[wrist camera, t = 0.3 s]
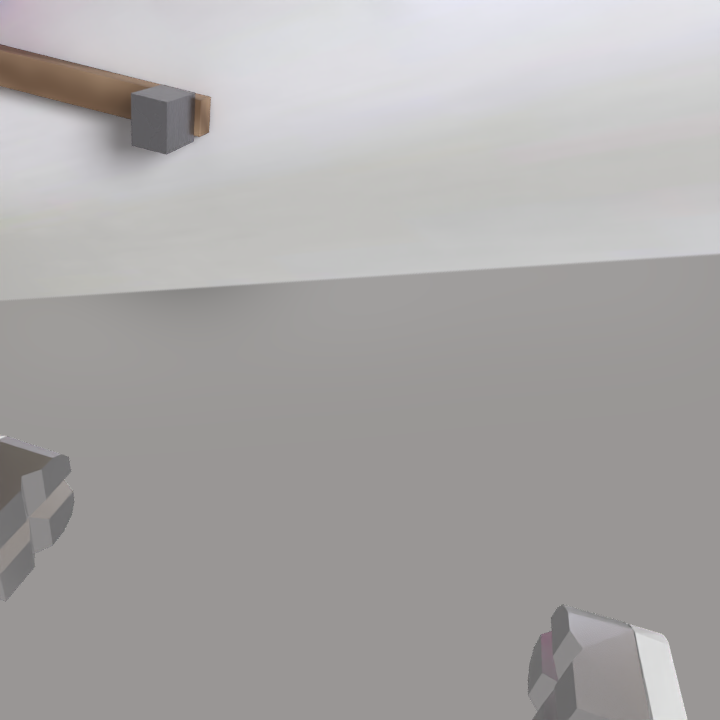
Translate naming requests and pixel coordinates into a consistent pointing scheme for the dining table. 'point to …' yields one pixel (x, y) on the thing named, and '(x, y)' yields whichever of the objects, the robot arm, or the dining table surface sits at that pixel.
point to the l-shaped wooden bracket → (112, 97)
